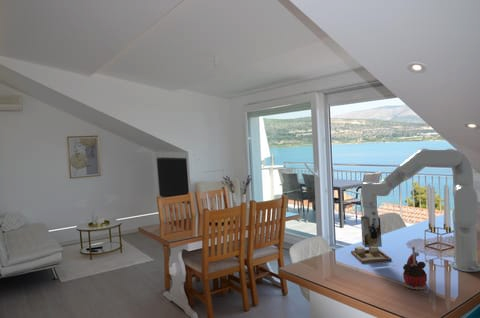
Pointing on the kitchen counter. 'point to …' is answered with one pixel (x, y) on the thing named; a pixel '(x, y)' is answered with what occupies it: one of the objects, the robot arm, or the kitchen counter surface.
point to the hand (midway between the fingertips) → (371, 236)
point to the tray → (372, 257)
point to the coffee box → (366, 234)
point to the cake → (414, 272)
